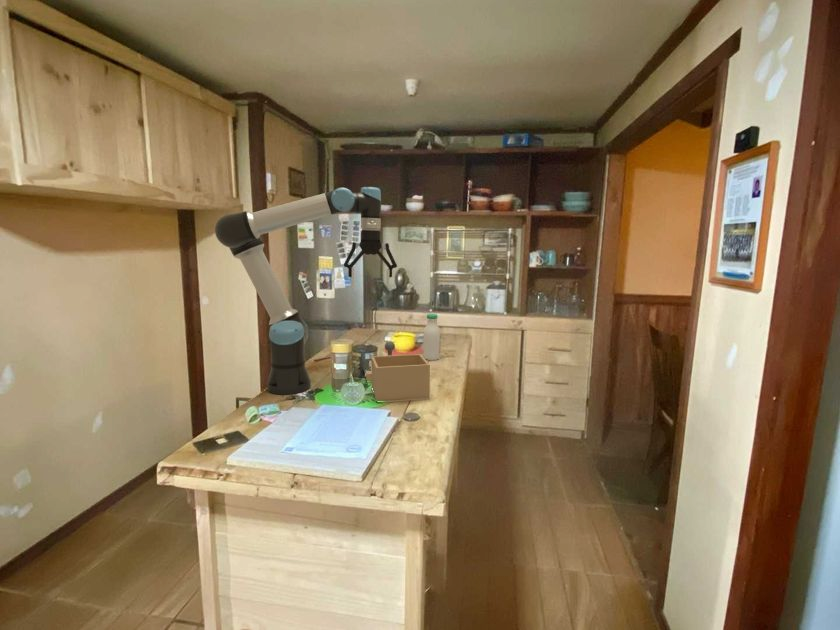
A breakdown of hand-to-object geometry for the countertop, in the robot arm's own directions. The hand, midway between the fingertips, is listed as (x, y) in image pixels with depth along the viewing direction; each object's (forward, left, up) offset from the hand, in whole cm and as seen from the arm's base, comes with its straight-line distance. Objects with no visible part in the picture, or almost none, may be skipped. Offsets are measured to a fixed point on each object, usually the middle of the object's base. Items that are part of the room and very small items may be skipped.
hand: (370, 285), depth 172 cm
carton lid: (+7, -3, -35) cm, 36 cm away
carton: (+7, -25, -35) cm, 44 cm away
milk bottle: (+29, +17, -35) cm, 49 cm away
